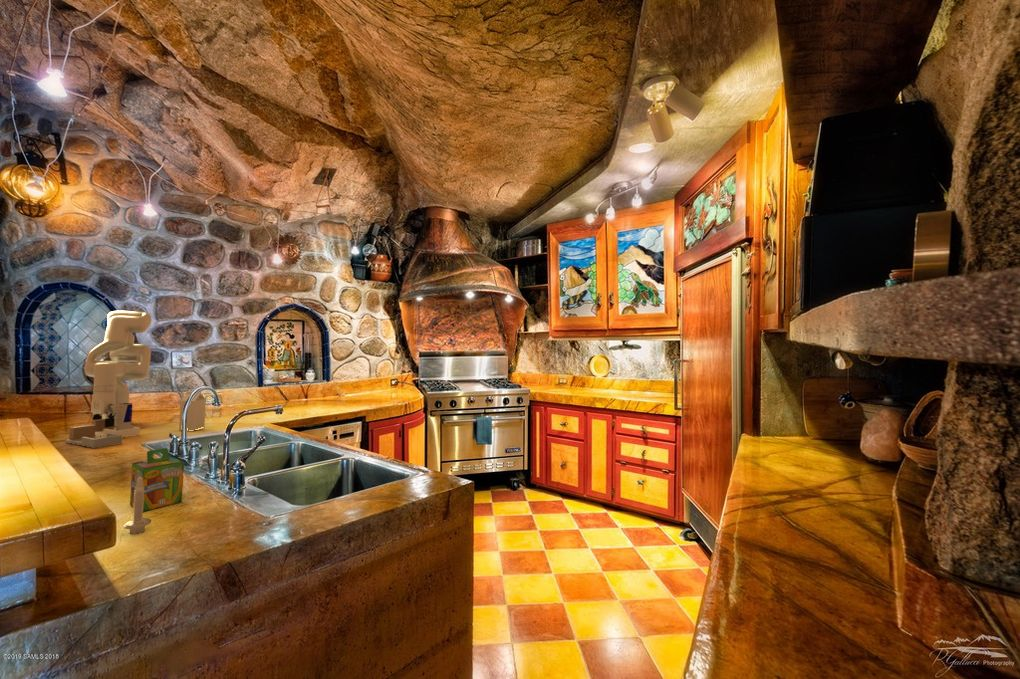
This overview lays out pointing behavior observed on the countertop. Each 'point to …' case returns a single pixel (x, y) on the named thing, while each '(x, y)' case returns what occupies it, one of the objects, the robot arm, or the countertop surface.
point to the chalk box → (158, 480)
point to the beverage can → (124, 416)
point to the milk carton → (194, 411)
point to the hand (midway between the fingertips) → (103, 425)
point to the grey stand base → (91, 437)
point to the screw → (138, 510)
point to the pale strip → (113, 429)
